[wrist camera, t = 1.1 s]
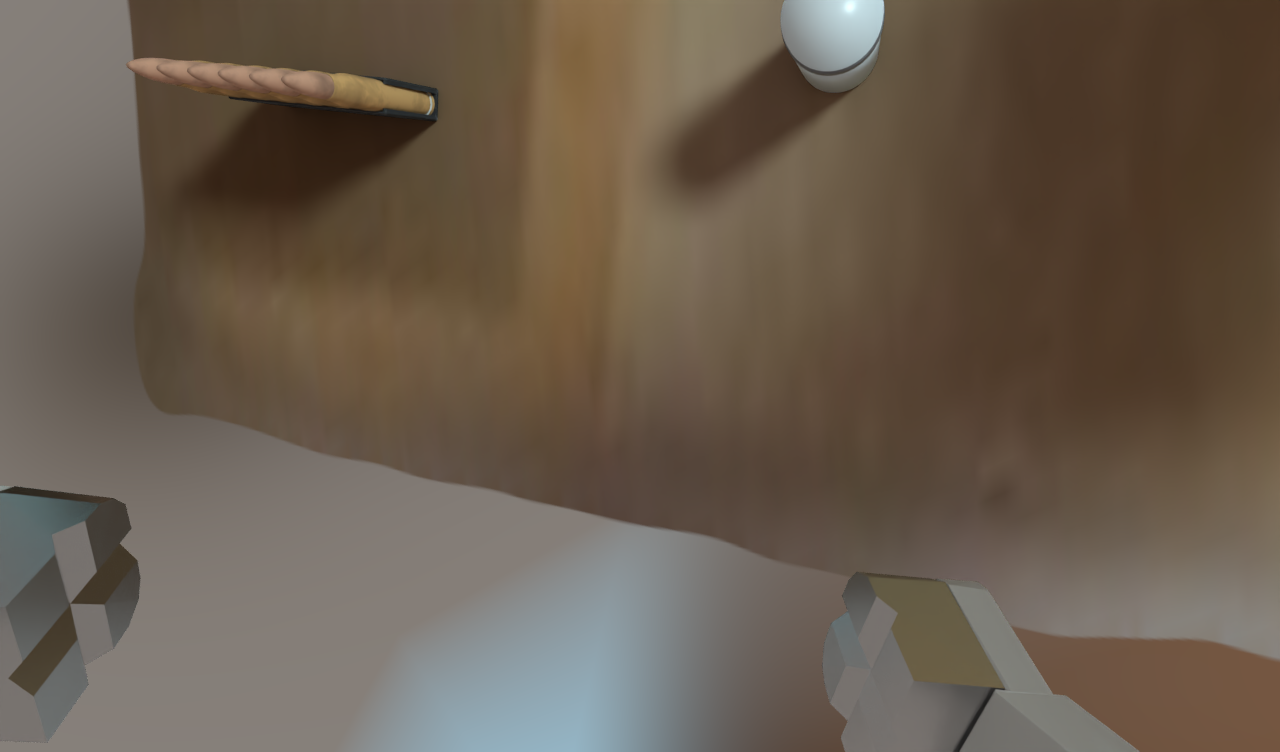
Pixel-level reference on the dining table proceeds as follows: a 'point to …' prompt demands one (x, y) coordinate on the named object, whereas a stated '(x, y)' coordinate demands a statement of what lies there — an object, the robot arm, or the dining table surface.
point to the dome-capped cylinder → (833, 40)
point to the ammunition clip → (296, 87)
